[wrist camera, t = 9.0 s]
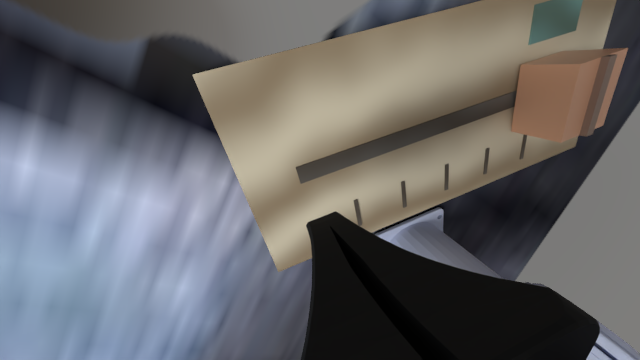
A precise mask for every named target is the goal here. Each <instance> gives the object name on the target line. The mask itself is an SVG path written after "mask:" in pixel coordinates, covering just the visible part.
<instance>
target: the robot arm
mask: <svg viewBox="0 0 640 360" xmlns="http://www.w3.org/2000/svg"><path fill="white" fill-rule="evenodd" d="M443 213H444V211H443V209H442V208H440V207H438V208H435V209H433V210H430V211H428V212H426V213H423V214H421V215H419V216H416V217H414V218H412V219H409V220H407V221H405V222H402V223H400V224H397V225H395V226H393V227H390V228H388V229H386V230H383V231H381V232H379V233H376V234H375V235H374V234H372V233H371V232H369V231H367V230H365V229H364V228H362V227H360V226H358V225H357V224H355V223H354V222H352V221H350V220H349V219H347V218H346V217H344V216H343V215H341V214H340V213H338V212H336V211H335V212H333V213H330V214H328V215H325V216H322V217H320V218H317V219H315V220H312V221H310V222H308V223H307V225H306V227H307V230H308V233H309V237H310V241H311V250H312V291H311V302H310V311H309V318H308V326H307V332H306V338H305V343H304V348H303V352H302V357H301V360H640V353H639V352H638V351H636V350H635V349H634V348H633V347H632V346H630V345H629V344H628V343H627V342H625V341H624V340H623V339H621V338H620V337H619V336H617V335H616V334H615V333H613V332H612V331H611V330H609V329H608V328H607V327H605V326H604V325H602V324H601V323H600V322H599V321H597V320H596V319H594V318H593V317H592V316H590V315H589V314H587V313H586V312H585V311H583V310H582V309H580V308H579V307H577V306H576V305H574V304H573V303H572V302H570V301H569V300H567V299H566V298H564V297H562V296H561V295H560V294H558V293H557V292H555V291H553V290H552V289H550V288H549V287H546V286H544V285H542V284H534V283H533V284H531V283H529V282H527V283H522V282H516V281H511V280H507V279H503V278H502V277H500V276H499V275H498V274H496V273H495V272H494V271H493V270H491V269H490V268H489V267H487V266H486V265H485V264H483V263H482V262H481V261H480V260H478V259H477V258H476V257H474V256H473V255H472V254H471V253H469V252H468V251H467V250H465V249H464V248H463V247H462V246H460V245H459V244H458V243H456V242H455V241H454V240H453V239H451V238H450V237H449V236H447V235H446V234H445V233H444V232H443Z"/></svg>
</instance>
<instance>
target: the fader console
mask: <svg viewBox="0 0 640 360" xmlns="http://www.w3.org/2000/svg"><path fill="white" fill-rule="evenodd" d="M615 4H616V0H482V1H478V2H474V3H470V4H466V5H462V6H458V7H455V8H451V9H447V10H443V11H439V12H435V13H431V14H427V15H423V16H419V17H416V18H412V19H408V20H404V21H400V22H396V23H392V24H388V25H384V26H380V27H376V28H373V29H369V30H365V31H361V32H357V33H353V34H349V35H345V36H341V37H337V38H334V39H330V40H326V41H322V42H318V43H315V44H310V45H306V46H303V47H298V48H295V49H291V50H287V51H283V52H279V53H275V54H271V55H267V56H263V57H259V58H256V59H252V60H248V61H244V62H240V63H236V64H232V65H228V66H224V67H220V68H217V69H213V70H209V71H205V72H201V73H197V74H193V77H194V80H195V82H196V84H197V87H198V89H199V91H200V93H201V96H202V98H203V100H204V103H205V105H206V107H207V109H208V112H209V114H210V116H211V119H212V121H213V123H214V126H215V128H216V130H217V132H218V135H219V137H220V139H221V142H222V144H223V146H224V148H225V151H226V153H227V155H228V158H229V160H230V162H231V164H232V167H233V169H234V171H235V174H236V176H237V178H238V180H239V183H240V185H241V187H242V190H243V192H244V194H245V196H246V199H247V201H248V203H249V206H250V208H251V210H252V212H253V215H254V217H255V219H256V222H257V224H258V226H259V228H260V231H261V233H262V235H263V238H264V240H265V242H266V244H267V247H268V249H269V251H270V254H271V256H272V258H273V260H274V263H275V265H276V267H277V270H278V272H280V271H282V270H284V269H287V268H289V267H292V266H294V265H296V264H299V263H301V262H303V261H306V260H308V259H310V258H312V250H311V241H310V237H309V233H308V230H307V227H306V225H307V223H308V222H310V221H312V220H315V219H317V218H320V217H322V216H325V215H328V214H330V213H333V212H335V211H336V212H338V213H340V214H341V215H343V216H344V217H346V218H347V219H349V220H350V221H352V222H354V223H355V224H357V225H358V226H360V227H362V228H364V229H365V230H367V231H369V232H371V233H372V232H374V231H377V230H379V229H381V228H384V227H386V226H389V225H391V224H393V223H396V222H398V221H400V220H403V219H405V218H407V217H410V216H412V215H415V214H417V213H419V212H422V211H424V210H426V209H429V208H431V207H433V206H436V205H438V204H441V203H443V202H445V201H448V200H450V199H452V198H455V197H457V196H460V195H462V194H464V193H467V192H469V191H471V190H474V189H476V188H478V187H481V186H483V185H486V184H488V183H490V182H493V181H495V180H497V179H500V178H502V177H504V176H507V175H509V174H512V173H514V172H516V171H519V170H521V169H523V168H526V167H528V166H530V165H533V164H535V163H538V162H540V161H542V160H545V159H547V158H549V157H552V156H554V155H557V154H559V153H561V152H564V151H566V150H568V149H571V148H573V147H575V146H576V142H577V139H578V136H576V137H574V138H572V139H569V140H567V141H564V142H562V143H559V142H555V141H551V140H546V139H542V138H538V137H533V136H529V135H524V134H520V133H516V132H511V128H512V121H513V114H514V107H515V100H516V93H517V86H518V80H519V73H520V66H521V64H524V63H528V62H531V61H534V60H537V59H540V58H543V57H546V56H549V55H552V54H555V53H558V52H561V51H574V50H594V49H603V46H604V43H605V39H606V36H607V32H608V28H609V25H610V21H611V18H612V14H613V11H614V7H615Z"/></svg>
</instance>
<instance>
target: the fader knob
mask: <svg viewBox="0 0 640 360" xmlns="http://www.w3.org/2000/svg"><path fill="white" fill-rule="evenodd" d="M627 50H628V48H615V49H594V50H574V51H561V52H558V53H555V54H552V55H549V56H546V57H543V58H540V59H537V60H534V61H531V62H528V63H524V64H521V66H520V73H519V80H518V86H517V93H516V100H515V107H514V114H513V121H512V128H511V132H516V133H520V134H524V135H529V136H533V137H538V138H542V139H546V140H551V141H555V142H559V143H562V142H564V141H567V140H569V139H572V138H574V137H576V136H579V135H580V136H586V137H587V136H589V135H592V134H593V132H594V129H596V128H598V127H601V126H603V124H604V121H605V118H606V115H607V112H608V109H609V106H610V103H611V100H612V96H613V93H614V90H615V87H616V84H617V81H618V78H619V75H620V72H621V69H622V66H623V63H624V60H625V56H626V53H627Z"/></svg>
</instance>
